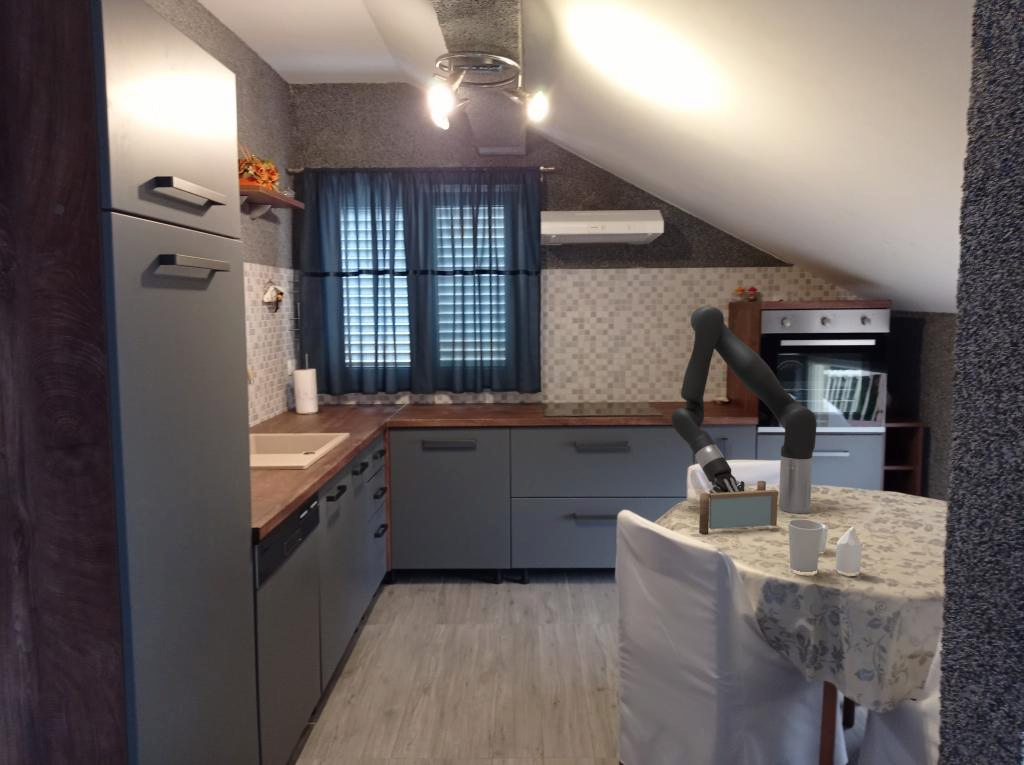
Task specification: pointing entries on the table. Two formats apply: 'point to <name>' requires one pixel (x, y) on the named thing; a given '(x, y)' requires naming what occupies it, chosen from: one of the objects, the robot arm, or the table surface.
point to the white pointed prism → (849, 552)
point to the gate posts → (705, 509)
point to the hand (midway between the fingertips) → (742, 513)
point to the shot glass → (823, 538)
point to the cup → (804, 544)
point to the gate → (743, 509)
